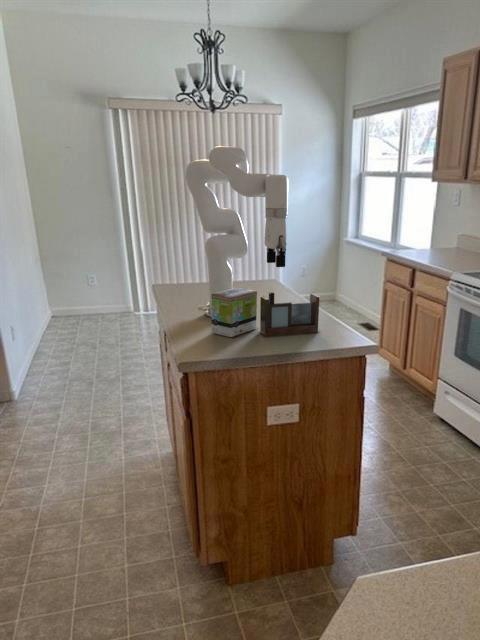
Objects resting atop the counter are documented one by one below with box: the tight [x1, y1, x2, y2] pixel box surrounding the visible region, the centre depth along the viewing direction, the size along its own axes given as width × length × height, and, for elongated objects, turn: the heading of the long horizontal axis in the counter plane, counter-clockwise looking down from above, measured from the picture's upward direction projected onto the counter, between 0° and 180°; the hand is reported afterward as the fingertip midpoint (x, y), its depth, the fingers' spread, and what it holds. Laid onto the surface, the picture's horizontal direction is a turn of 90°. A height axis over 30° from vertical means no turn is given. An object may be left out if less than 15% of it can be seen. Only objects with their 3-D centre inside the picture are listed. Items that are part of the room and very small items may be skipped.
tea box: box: [211, 287, 258, 338], centre depth 195 cm, size 15×10×15 cm, turn 148°
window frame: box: [259, 292, 320, 338], centre depth 195 cm, size 21×6×14 cm, turn 110°
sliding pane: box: [268, 291, 293, 328], centre depth 192 cm, size 9×2×14 cm, turn 110°
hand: (275, 264), depth 187 cm, fingers open, 9 cm apart
